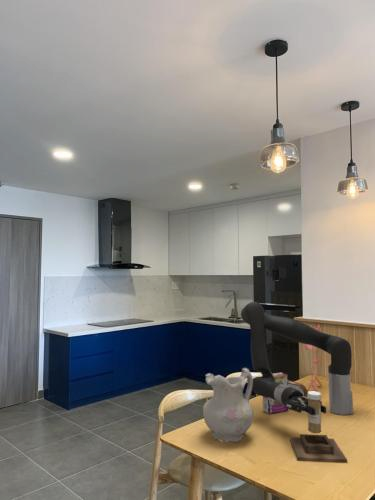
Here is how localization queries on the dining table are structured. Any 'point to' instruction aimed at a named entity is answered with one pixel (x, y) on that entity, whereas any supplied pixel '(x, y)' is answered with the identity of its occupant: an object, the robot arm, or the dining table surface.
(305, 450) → the walnut stand
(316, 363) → the pink branching piece
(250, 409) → the ceramic pitcher
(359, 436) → the dining table surface
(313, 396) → the spice jar
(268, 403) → the candy bar box
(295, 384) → the grey brown oval slab
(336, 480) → the dining table surface
